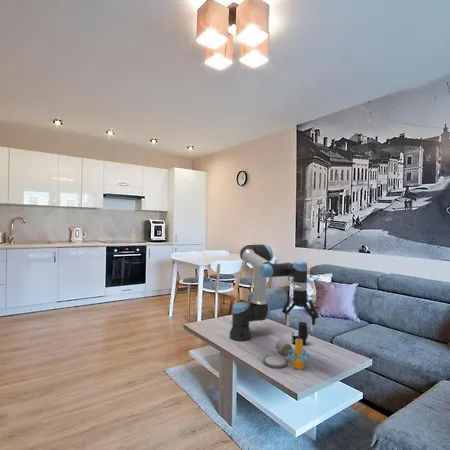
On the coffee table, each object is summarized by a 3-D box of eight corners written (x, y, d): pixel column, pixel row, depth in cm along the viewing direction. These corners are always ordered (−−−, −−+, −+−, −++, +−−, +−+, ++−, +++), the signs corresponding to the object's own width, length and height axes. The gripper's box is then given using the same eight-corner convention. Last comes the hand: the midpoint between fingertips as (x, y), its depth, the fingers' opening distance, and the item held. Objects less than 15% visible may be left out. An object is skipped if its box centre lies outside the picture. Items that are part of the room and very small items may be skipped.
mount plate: (258, 363, 172) (258, 361, 172) (269, 355, 183) (269, 353, 183) (281, 370, 164) (281, 368, 164) (291, 361, 175) (291, 359, 175)
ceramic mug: (282, 356, 181) (282, 343, 181) (275, 351, 189) (276, 339, 189) (297, 355, 185) (298, 342, 185) (290, 349, 192) (291, 337, 192)
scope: (291, 322, 202) (303, 320, 207) (291, 343, 202) (303, 341, 207) (299, 326, 195) (311, 324, 199) (299, 347, 195) (311, 345, 199)
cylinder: (286, 362, 174) (286, 336, 174) (303, 361, 175) (304, 335, 175) (292, 372, 162) (293, 344, 162) (311, 372, 163) (312, 343, 163)
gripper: (276, 287, 172) (276, 325, 172) (320, 293, 158) (320, 334, 158) (282, 285, 179) (281, 322, 178) (324, 291, 164) (324, 330, 164)
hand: (299, 328), depth 168 cm, fingers open, 13 cm apart
